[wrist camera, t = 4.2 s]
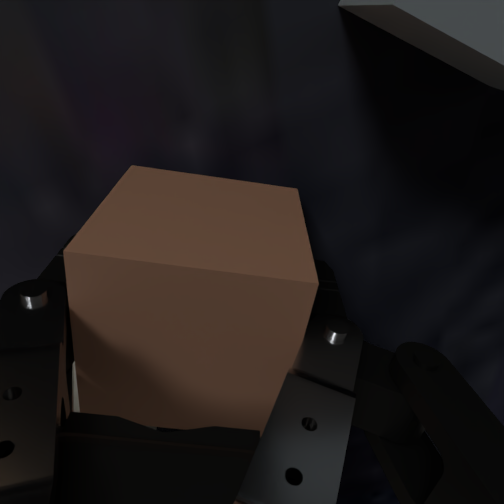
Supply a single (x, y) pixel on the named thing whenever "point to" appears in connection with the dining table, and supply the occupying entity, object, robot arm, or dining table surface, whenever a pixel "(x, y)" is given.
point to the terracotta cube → (189, 299)
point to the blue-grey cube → (445, 31)
